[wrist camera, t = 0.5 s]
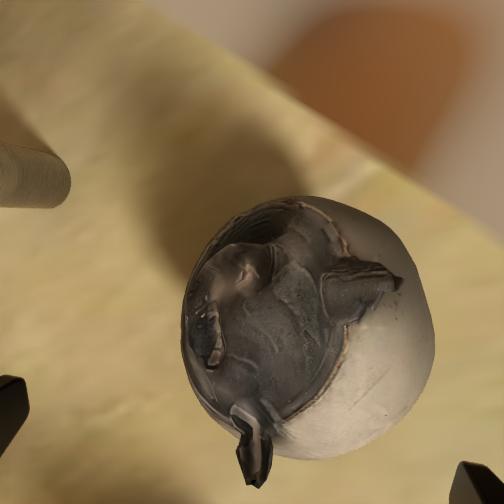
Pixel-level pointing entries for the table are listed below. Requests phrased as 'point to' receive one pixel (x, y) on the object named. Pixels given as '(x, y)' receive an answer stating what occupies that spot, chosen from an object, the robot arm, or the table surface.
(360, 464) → the table surface
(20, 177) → the steel pin
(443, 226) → the table surface
